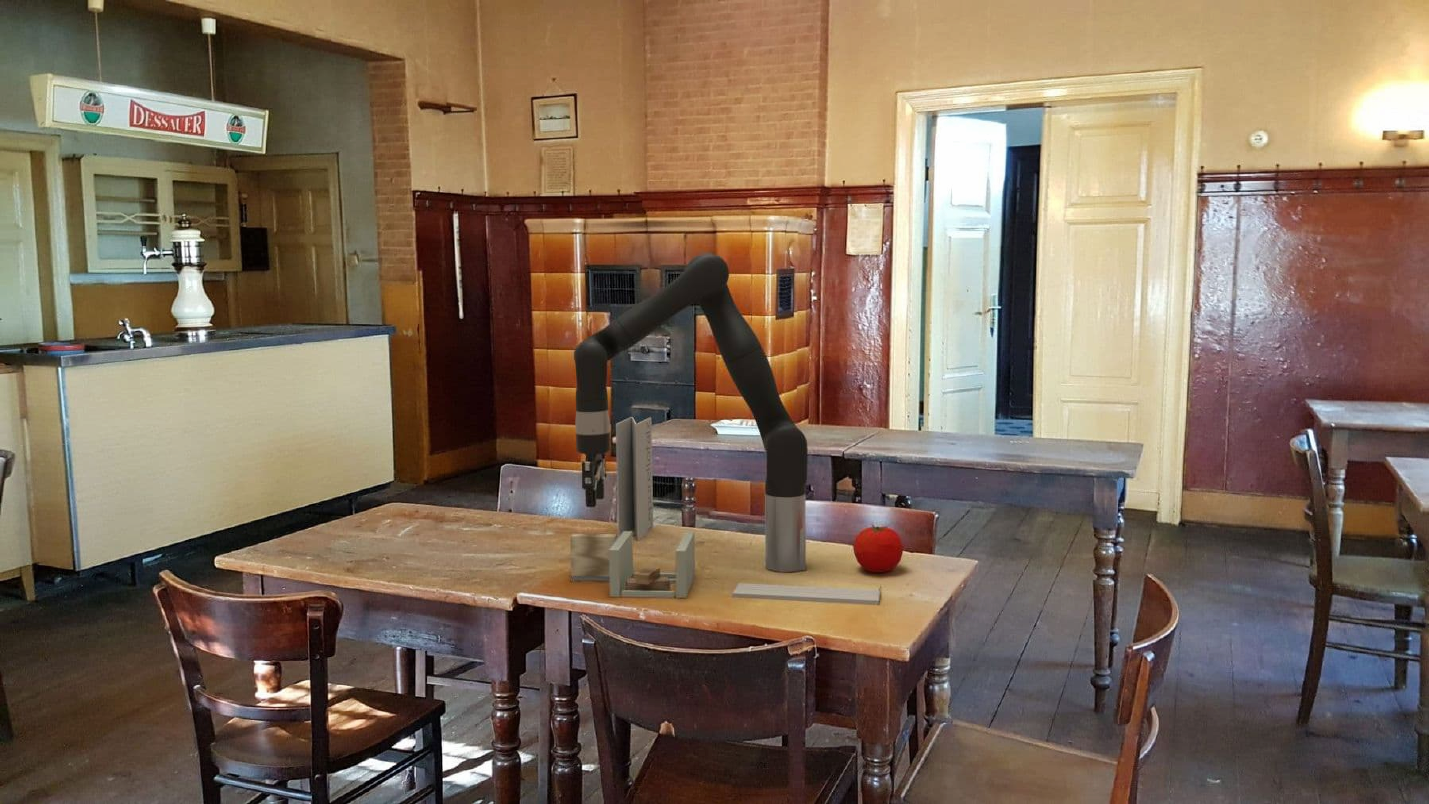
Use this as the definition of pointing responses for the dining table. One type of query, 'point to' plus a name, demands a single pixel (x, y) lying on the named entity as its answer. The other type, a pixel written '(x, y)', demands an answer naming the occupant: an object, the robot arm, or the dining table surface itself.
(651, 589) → the offcut bottom
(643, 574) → the offcut top
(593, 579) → the mat
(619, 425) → the brochure
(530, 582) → the dining table surface
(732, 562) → the dining table surface
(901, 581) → the dining table surface
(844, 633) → the dining table surface
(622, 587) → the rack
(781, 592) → the baseboard
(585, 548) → the tan wooden slab
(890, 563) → the tomato
